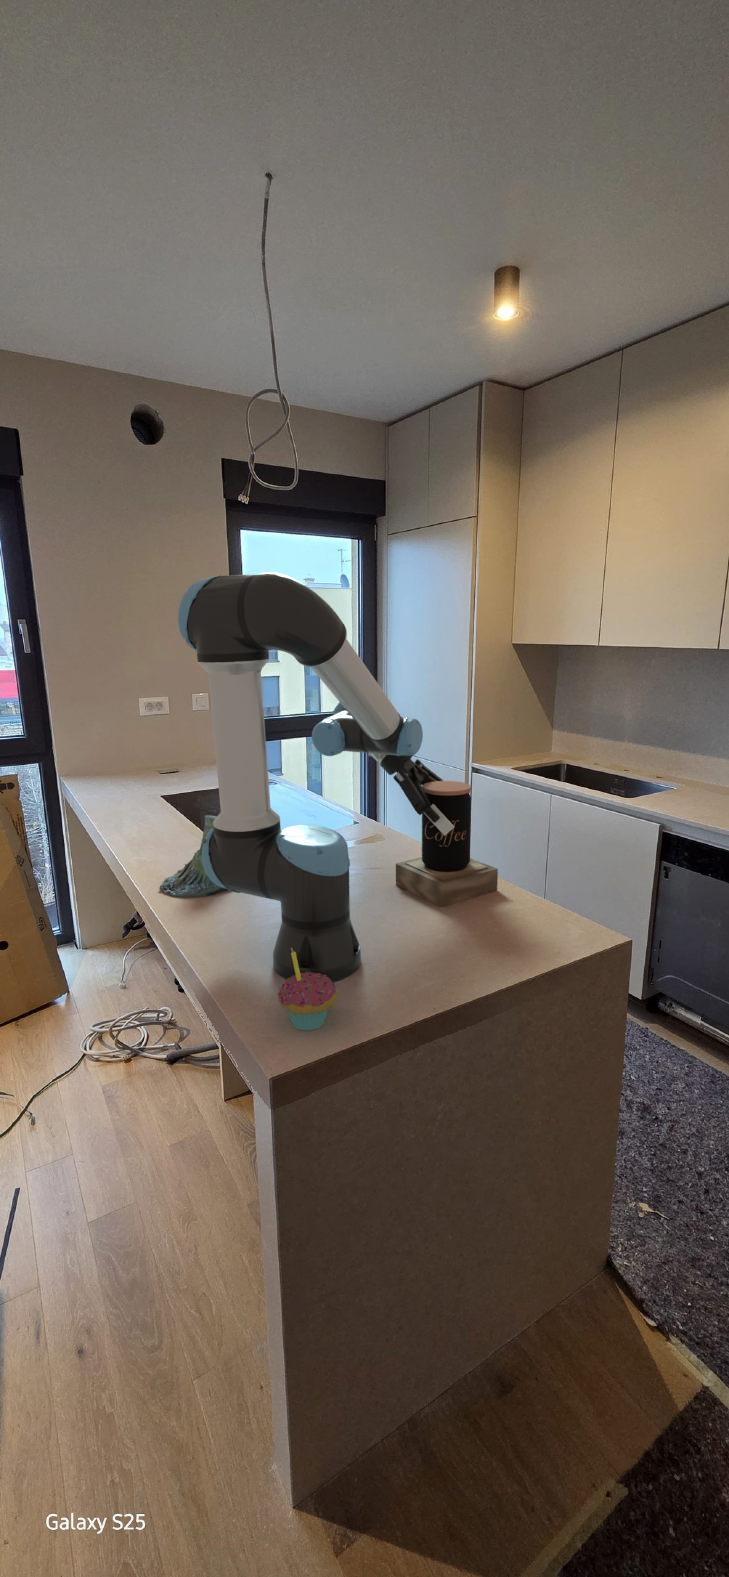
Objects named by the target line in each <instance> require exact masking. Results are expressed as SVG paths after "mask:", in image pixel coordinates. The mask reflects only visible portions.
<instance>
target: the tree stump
mask: <svg viewBox="0 0 729 1577" xmlns="http://www.w3.org/2000/svg"><path fill="white" fill-rule="evenodd" d="M217 816H218V815H207V814H206V815H205V816H204V827H203V832H202V838H201V842H200V847H199V849H198V850H196V852H195V853H194V855H193V857H192V859H190V860H189V861H188V863H185V864H184V867H183V868H181V869H178V870H177V872H175V873H173V875H171V876H170V877H168V876H167V877H166V878H165V879H164V880H163V881H162V883H161V885H159V888H160V889H161V890H162V892H163V893H164V894H166V895H168V896H170V897H175V898H203V897H206V896H212V895H215V894H217V893H219V892H221V891H224V890H227V889H226V888H222V887H219V886H217V885H216V884H215V883H213V882H212V881H211V880H210V879H209V877H208V876H207V874H206V872H205V870H204V866H203V862H202V848H203V844H205V843H206V839H205V838H206V836H207V834H208V833H209V831H210V830H211V829H212V828H213V821H214V820H215V819H216V817H217ZM211 894H212V895H211Z"/></svg>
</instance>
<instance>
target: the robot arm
mask: <svg viewBox="0 0 729 1577" xmlns="http://www.w3.org/2000/svg"><path fill="white" fill-rule="evenodd" d="M177 612H178V613H177V624H178V628H179V633H180V635H181V638H182V639H184V640H185V643H186V645H188V647H190V648H191V649H193V650H195V651H196V659H197V664H198V665H199V666H200V668H202V669H203V670H204V671H205V672H207V674H208V683H209V696H210V697H209V698H210V704H211V705H210V707H211V718H212V728H213V738H214V739H213V741H214V751H215V761H216V762H215V763H216V774H217V783H218V793H219V794H218V795H219V804H220V813H219V814H218V815H216V816H217V817H216V819H215V820H214V821H213V828H212V829H211V830H210V831H209V833H208V834H207V836H206V838H205V839H206V843H205V844H203V848H202V862H203V866H204V870H205V872H206V874H207V876H208V877H209V879H210V880H211V881H212V882H213V883H215V884H216V885H217V886H219V887H222V888H226V889H225V890H229V891H230V892H233V893H237V894H241V893H242V894H246V895H251V896H255V897H260V898H264V899H267V900H269V899H270V900H272V901H273V900H274V901H278V902H279V903H280V908H281V909H280V912H281V924H280V926H279V927H280V928H279V931H278V934H277V936H276V937H277V938H276V940H275V945H274V949H273V952H272V953H273V954H272V960H273V961H272V962H273V964H272V965H273V968H274V971H275V972H276V973H277V974H278V975H279V976H280V977H282V978H284V979H285V980H286V979H288V978H290V977H292V976H294V975H296V974H295V969H294V964H293V960H292V955H291V953H292V950H291V948H292V949H293V952H296V957H297V961H298V966H299V970H300V973H302V972H303V973H305V972H312V973H320V974H322V975H326V977H328V978H329V979H330V980H331V981H332V982H335V981H338V980H341V979H344V978H346V977H349V976H350V975H351V974H353V973H355V972H356V971H357V970H358V969H359V967H360V965H361V963H362V956H361V955H362V953H361V952H362V950H361V945H360V943H359V940H358V937H357V934H356V932H355V929H354V926H353V923H352V920H351V913H350V912H351V911H350V910H351V909H350V907H351V906H350V901H351V900H350V867H351V861H350V857H349V849H348V848H349V847H348V843H347V841H346V839H345V837H344V836H343V835H342V834H341V833H340V832H337V831H335V830H334V829H331V828H328V827H325V826H320V825H314V824H310V825H305V824H295V825H290V826H287V827H285V828H283V829H281V817H280V815H279V813H277V812H276V811H275V810H274V809H272V808H271V807H272V806H271V796H270V781H269V780H270V779H269V766H268V753H267V752H268V751H267V740H266V724H265V723H266V722H265V711H264V698H263V696H264V695H263V685H262V670H263V669H264V667H265V666H266V664H268V663H269V661H270V653H269V651H278V652H279V651H280V652H284V653H287V654H289V655H291V656H292V657H294V659H295V660H296V662H298V663H299V664H300V665H302V666H303V667H309V668H311V669H312V671H313V672H314V673H315V674H316V676H317V677H318V678H319V679H320V680H321V681H322V683H323V684H324V685H325V686H326V687H327V689H328V690H329V691H330V692H331V693H332V695H333V696H334V697H335V698H336V700H337V701H338V703H337V705H336V706H335V707H334V708H333V715H331V716H328V717H325V718H324V719H323V720H322V721H319V722H318V723H316V725H315V726H314V727H313V729H312V732H311V740H312V744H313V746H314V748H315V750H317V752H318V753H319V754H321V755H323V756H326V757H333V756H336V755H340V754H341V753H343V752H349V753H350V752H351V753H362V754H363V753H364V754H365V753H366V754H367V755H368V756H369V757H372V758H373V759H374V760H375V761H376V762H379V765H380V767H381V768H382V769H383V770H384V771H385V772H386V773H387V774H388V775H389V776H393V775H394V774H395V773H396V774H395V775H394V776H393V780H394V781H395V782H396V784H398V785H399V787H400V789H401V790H402V791H403V793H404V795H405V797H406V798H407V800H408V802H409V803H410V805H411V806H412V807H413V809H414V811H415V812H416V813H417V814H418V815H419V816H422V813H423V812H424V814H425V815H426V816H427V817H428V818H429V819H430V820H431V822H432V823H433V824H434V825H435V826H436V827H437V828H438V829H439V830H440V831H441V832H442V833H443V835H444V836H445V835H446V834H447V833H448V832H449V831H451V830H452V829H453V828H454V826H453V825H452V823H451V822H450V821H449V820H448V819H447V818H446V817H445V816H444V815H443V814H442V813H441V812H440V811H439V809H438V808H437V807H436V806H435V805H434V804H433V805H431V804H430V802H429V800H428V798H427V796H426V793H425V791H424V789H423V787H422V786H423V785H424V784H425V783H429V782H435V781H444V779H442V778H441V777H439V776H438V775H437V774H436V773H435V772H433V771H432V770H431V769H429V768H428V767H427V766H426V765H425V764H423V762H422V761H421V760H420V759H418V758H417V759H416V760H415V761H413V760H412V758H413V757H414V755H416V754H417V753H418V752H419V750H421V746H422V743H423V737H424V736H423V735H424V734H423V733H424V732H423V727H422V724H421V722H420V721H419V720H418V719H416V718H413V717H412V718H411V717H409V716H406V717H402V716H401V714H400V713H399V712H398V710H397V709H396V707H395V706H394V705H393V703H392V702H391V700H390V699H389V698H388V696H387V695H386V693H385V692H384V690H383V689H382V687H381V686H380V684H379V683H378V682H377V680H376V679H375V677H374V676H373V674H372V673H371V672H370V670H369V669H368V667H367V666H366V664H365V663H364V662H363V660H362V659H361V658H360V656H359V655H358V653H357V651H355V649H354V648H353V646H352V644H351V643H350V642H349V640H348V639H347V638H348V636H347V635H348V632H347V627H346V625H345V623H344V622H343V621H342V619H341V618H340V616H339V615H338V614H337V612H336V611H335V609H333V608H332V607H331V605H330V604H329V603H328V602H327V601H326V600H325V599H323V597H321V596H320V595H319V594H318V593H317V592H315V591H314V590H313V589H311V588H310V587H308V586H307V585H306V584H304V583H303V582H301V581H299V580H298V579H295V578H293V577H292V576H291V577H290V576H288V575H286V574H283V573H279V572H260V573H253V574H252V573H251V574H232V575H231V574H229V575H214V576H213V577H207V578H203V579H199V580H197V581H195V582H193V583H192V584H191V585H190V586H188V588H187V590H186V591H185V592H184V594H182V597H181V600H180V602H179V606H178V611H177Z"/></svg>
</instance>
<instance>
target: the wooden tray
mask: <svg viewBox="0 0 729 1577" xmlns="http://www.w3.org/2000/svg"><path fill="white" fill-rule="evenodd" d="M498 870H499V869H498V868H497V867H495V866H491V865H489V864H486V863H484V862H481V861H478V860H476V859H473V858H471V857H470V862H469V864H468V865H467V867H466V868H465V869H463V870H460V871H455V872H440V871H434V870H431V869H429V868H427V867H426V866H425V864H424V863H423V861H422V856H420V857H417V858H413V859H409V860H405V861H401V862H400V861H399V862H397V863H395V885H396V886H398V887H401V888H403V889H405V890H407V891H409V892H411V893H412V894H415V895H416V896H419V897H420V898H422V899H424V900H426V901H429V902H430V903H433V904H435V905H436V906H439V907H440V908H443V907H447V906H449V905H452V904H453V905H454V904H456V903H460V902H462V901H466V900H469V899H473V898H476V897H480V896H482V895H486V894H489V893H492V892H495V891H498V878H499V876H498V874H499V872H498Z"/></svg>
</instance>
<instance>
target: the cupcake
mask: <svg viewBox="0 0 729 1577" xmlns="http://www.w3.org/2000/svg"><path fill="white" fill-rule="evenodd" d="M291 950H292V953H291V955H292V960H293V964H294V969H295V974H296V975H294V976H292V977H290V978H288V979H286V978H285V980H284V981H283V983H282V984H281V985H280V986H279V988H278V989H279V990H278V992H277V995H278V996H277V998H278V999H277V1000H278V1003H279V1004H280V1007H281V1008H282V1009H284V1010H286V1011H287V1014H288V1017H289V1019H290V1021H291V1025H292V1027H294V1028H295V1029H297V1030H299V1031H305V1032H306V1031H314V1030H317V1029H319V1028H321V1027H322V1026H323V1025H324V1023H325V1021H326V1019H327V1018H326V1016H327V1014H328V1012H329V1009H331V1008H333V1007H335V1004H336V1001H337V1000H338V996H339V995H338V989H337V987H336V985H335V982H334V981H331V980H330V979H329V978H328V977H326V975H322V974H320V973H312V972H305V973H303V972H302V973H300V970H299V966H298V961H297V957H296V952H293V949H292V948H291Z"/></svg>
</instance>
